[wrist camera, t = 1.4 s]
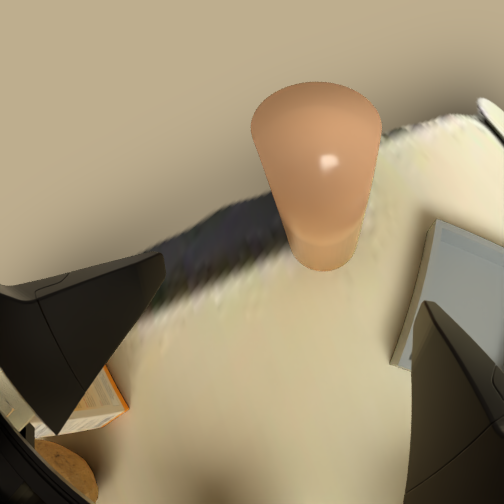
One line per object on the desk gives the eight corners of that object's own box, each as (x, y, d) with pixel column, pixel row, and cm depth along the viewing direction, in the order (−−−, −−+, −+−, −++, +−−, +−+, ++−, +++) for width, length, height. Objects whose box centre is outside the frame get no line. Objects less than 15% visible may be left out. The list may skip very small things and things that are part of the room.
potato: (137, 512, 17) (87, 539, 10) (63, 501, 18) (19, 513, 11) (101, 431, 21) (41, 441, 14) (37, 436, 22) (-11, 438, 15)
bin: (495, 395, 14) (510, 397, 12) (389, 364, 18) (397, 365, 16) (521, 272, 17) (535, 263, 14) (427, 231, 21) (436, 218, 18)
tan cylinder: (344, 281, 21) (367, 189, 9) (278, 257, 23) (229, 154, 11) (365, 218, 22) (389, 95, 11) (303, 199, 24) (278, 75, 12)
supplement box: (71, 360, 24) (-32, 343, 13) (95, 338, 25) (-16, 311, 13) (103, 429, 21) (-7, 442, 9) (132, 411, 21) (11, 424, 9)
